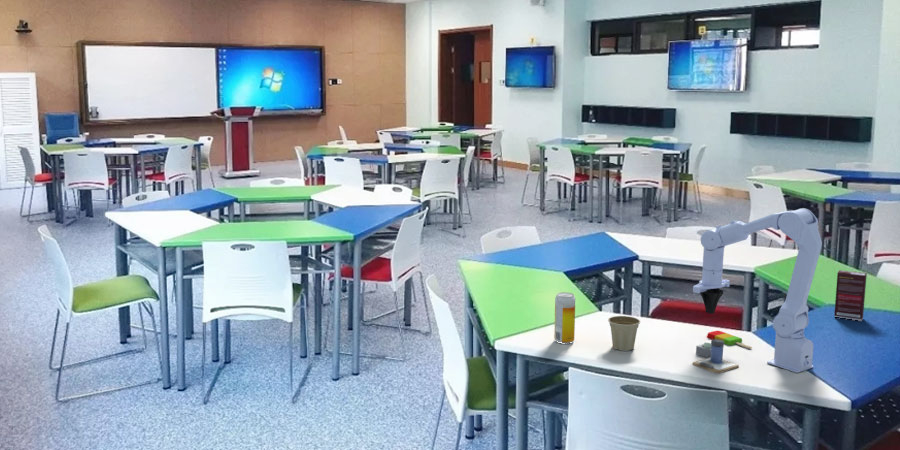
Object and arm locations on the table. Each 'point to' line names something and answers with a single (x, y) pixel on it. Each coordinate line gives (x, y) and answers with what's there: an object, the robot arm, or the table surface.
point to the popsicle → (726, 338)
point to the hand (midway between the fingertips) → (709, 312)
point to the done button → (707, 345)
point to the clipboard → (715, 365)
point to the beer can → (564, 317)
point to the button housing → (703, 351)
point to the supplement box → (850, 295)
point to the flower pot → (623, 332)
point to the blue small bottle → (716, 351)
